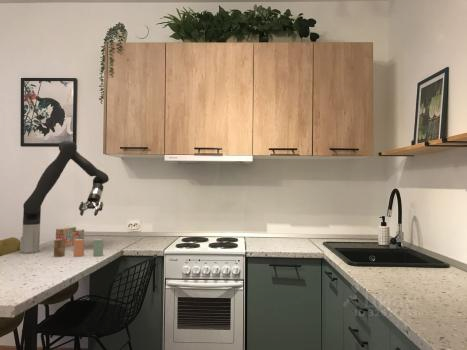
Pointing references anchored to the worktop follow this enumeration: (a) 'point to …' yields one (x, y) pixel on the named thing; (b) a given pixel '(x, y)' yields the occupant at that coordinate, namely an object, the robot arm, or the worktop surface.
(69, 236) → the stack of blocks
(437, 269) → the worktop surface
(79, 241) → the terracotta block
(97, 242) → the sage green block
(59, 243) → the walnut block
